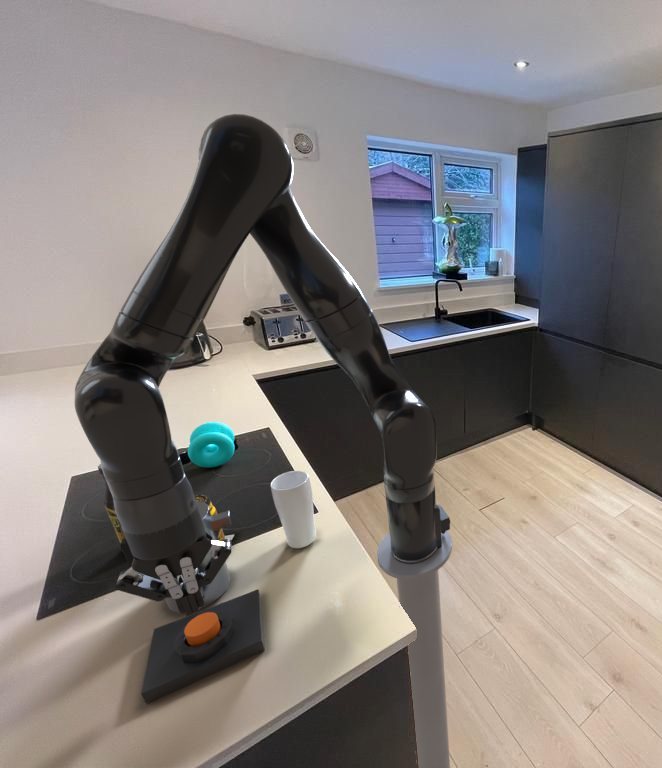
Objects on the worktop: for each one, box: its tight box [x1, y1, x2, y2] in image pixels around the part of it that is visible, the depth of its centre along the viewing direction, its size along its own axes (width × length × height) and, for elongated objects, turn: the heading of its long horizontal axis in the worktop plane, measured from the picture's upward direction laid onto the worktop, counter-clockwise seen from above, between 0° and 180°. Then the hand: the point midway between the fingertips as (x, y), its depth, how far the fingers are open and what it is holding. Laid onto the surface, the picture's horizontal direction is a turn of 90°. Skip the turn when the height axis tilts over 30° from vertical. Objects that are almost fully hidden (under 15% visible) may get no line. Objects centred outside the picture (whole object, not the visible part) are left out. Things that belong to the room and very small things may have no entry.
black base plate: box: [140, 589, 266, 705], centre depth 61 cm, size 14×11×4 cm
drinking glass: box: [269, 470, 317, 549], centre depth 80 cm, size 7×7×15 cm
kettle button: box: [184, 612, 221, 646], centre depth 60 cm, size 4×4×2 cm
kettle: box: [119, 501, 233, 614], centre depth 68 cm, size 14×9×17 cm, turn 123°
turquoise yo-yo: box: [187, 421, 235, 468], centre depth 109 cm, size 10×10×10 cm
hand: (193, 608), depth 58 cm, fingers closed
